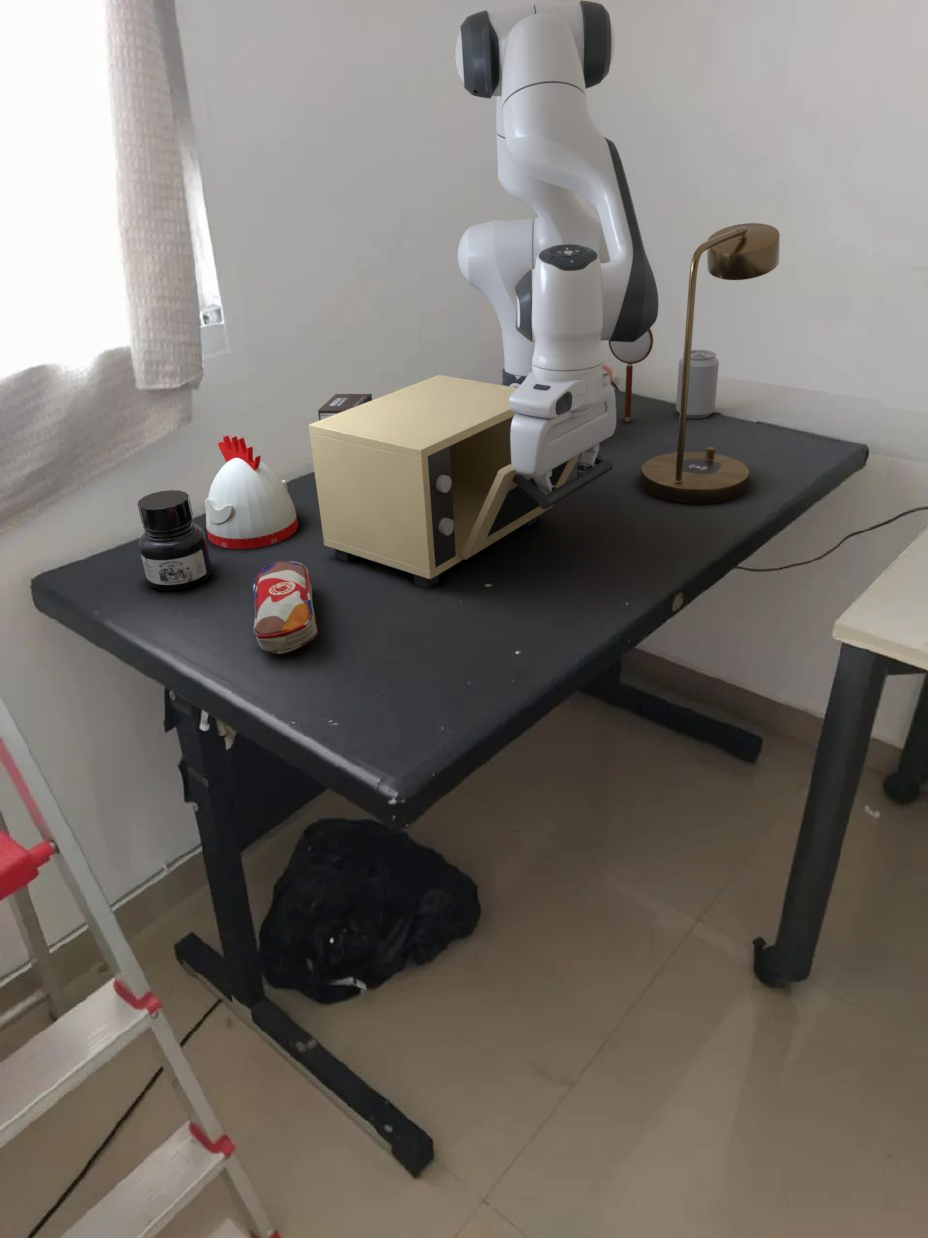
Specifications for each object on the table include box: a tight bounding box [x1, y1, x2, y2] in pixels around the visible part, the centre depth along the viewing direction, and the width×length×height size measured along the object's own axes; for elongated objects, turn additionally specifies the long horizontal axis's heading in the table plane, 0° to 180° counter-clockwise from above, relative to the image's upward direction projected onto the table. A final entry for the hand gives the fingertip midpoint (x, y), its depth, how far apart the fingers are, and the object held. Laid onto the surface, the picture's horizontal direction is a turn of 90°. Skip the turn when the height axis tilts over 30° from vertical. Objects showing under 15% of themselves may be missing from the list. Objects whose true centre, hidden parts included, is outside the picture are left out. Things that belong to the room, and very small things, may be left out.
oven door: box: [461, 453, 614, 560], centre depth 129 cm, size 22×7×15 cm, turn 142°
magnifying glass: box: [608, 328, 654, 423], centre depth 179 cm, size 9×2×20 cm, turn 62°
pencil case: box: [252, 560, 319, 655], centre depth 120 cm, size 11×20×5 cm, turn 177°
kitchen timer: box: [204, 434, 299, 550], centre depth 144 cm, size 14×14×15 cm
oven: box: [308, 374, 538, 589], centre depth 136 cm, size 28×21×20 cm
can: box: [675, 349, 720, 419], centre depth 184 cm, size 8×8×12 cm
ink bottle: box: [136, 489, 212, 592], centre depth 131 cm, size 10×9×12 cm
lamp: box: [640, 222, 781, 505], centre depth 149 cm, size 17×27×38 cm, turn 145°
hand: (566, 487), depth 126 cm, fingers open, 8 cm apart
